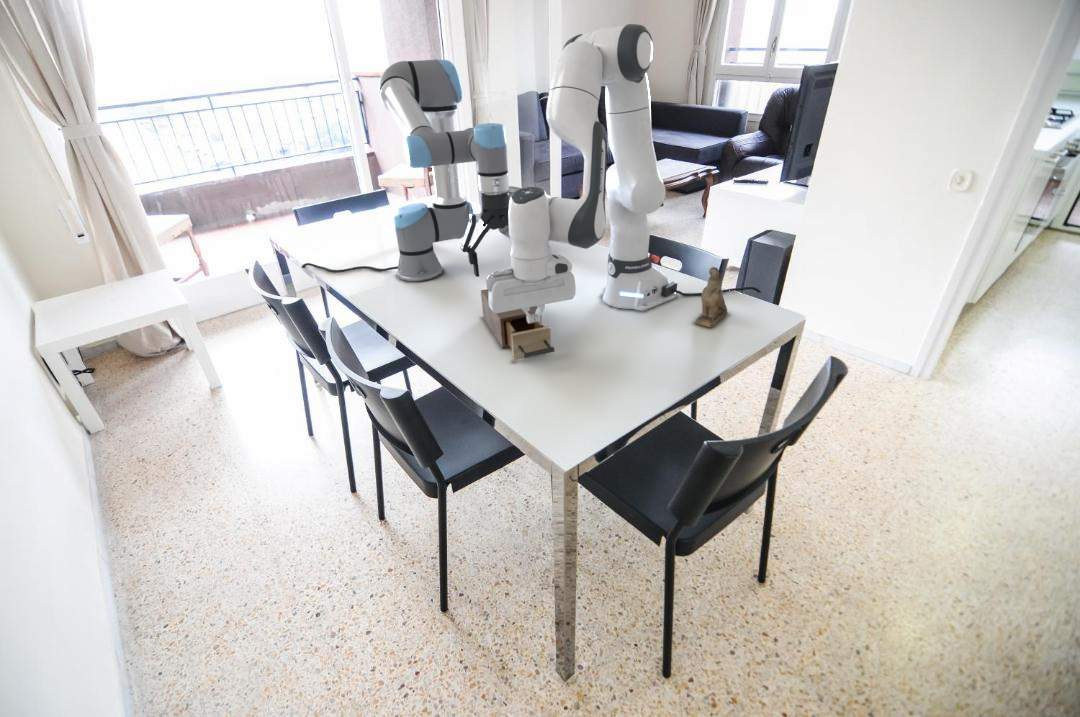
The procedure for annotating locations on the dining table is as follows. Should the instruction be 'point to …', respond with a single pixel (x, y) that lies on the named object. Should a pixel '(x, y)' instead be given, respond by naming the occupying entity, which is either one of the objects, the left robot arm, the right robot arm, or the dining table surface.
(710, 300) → the worn brown figurine
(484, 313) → the cabinet
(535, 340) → the drawer
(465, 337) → the dining table surface
